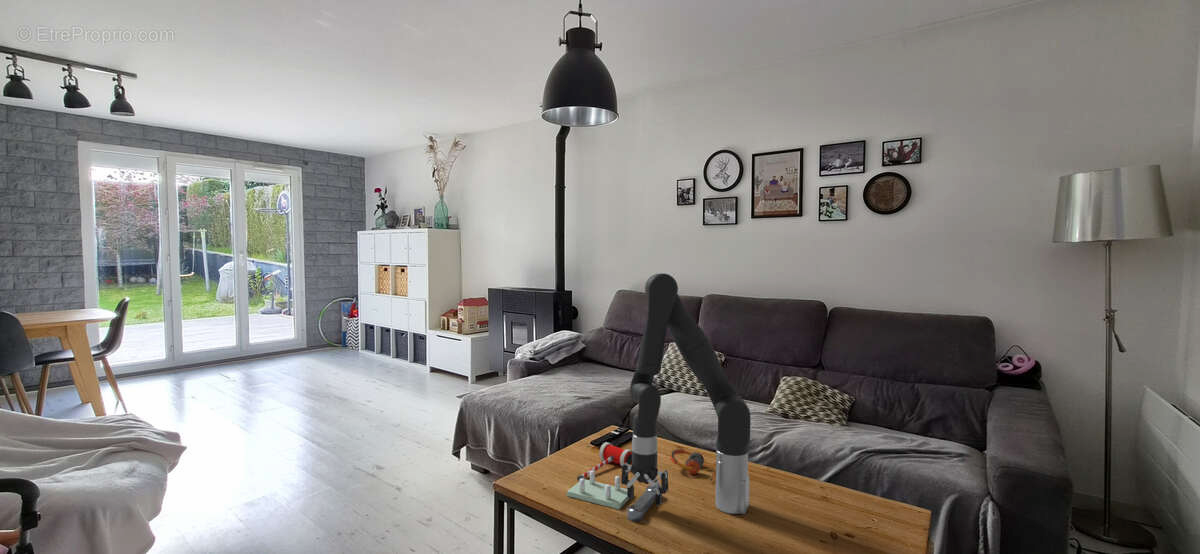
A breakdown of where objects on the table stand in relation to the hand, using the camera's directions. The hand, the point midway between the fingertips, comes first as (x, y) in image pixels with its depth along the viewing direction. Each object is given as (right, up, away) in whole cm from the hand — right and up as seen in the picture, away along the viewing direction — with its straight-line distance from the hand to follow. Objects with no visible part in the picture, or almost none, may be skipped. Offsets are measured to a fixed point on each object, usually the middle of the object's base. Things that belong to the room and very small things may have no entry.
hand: (644, 501), depth 153 cm
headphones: (+21, -1, +25) cm, 33 cm away
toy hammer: (-11, -1, +27) cm, 29 cm away
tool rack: (-13, -1, +7) cm, 15 cm away
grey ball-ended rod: (0, -2, 0) cm, 2 cm away
